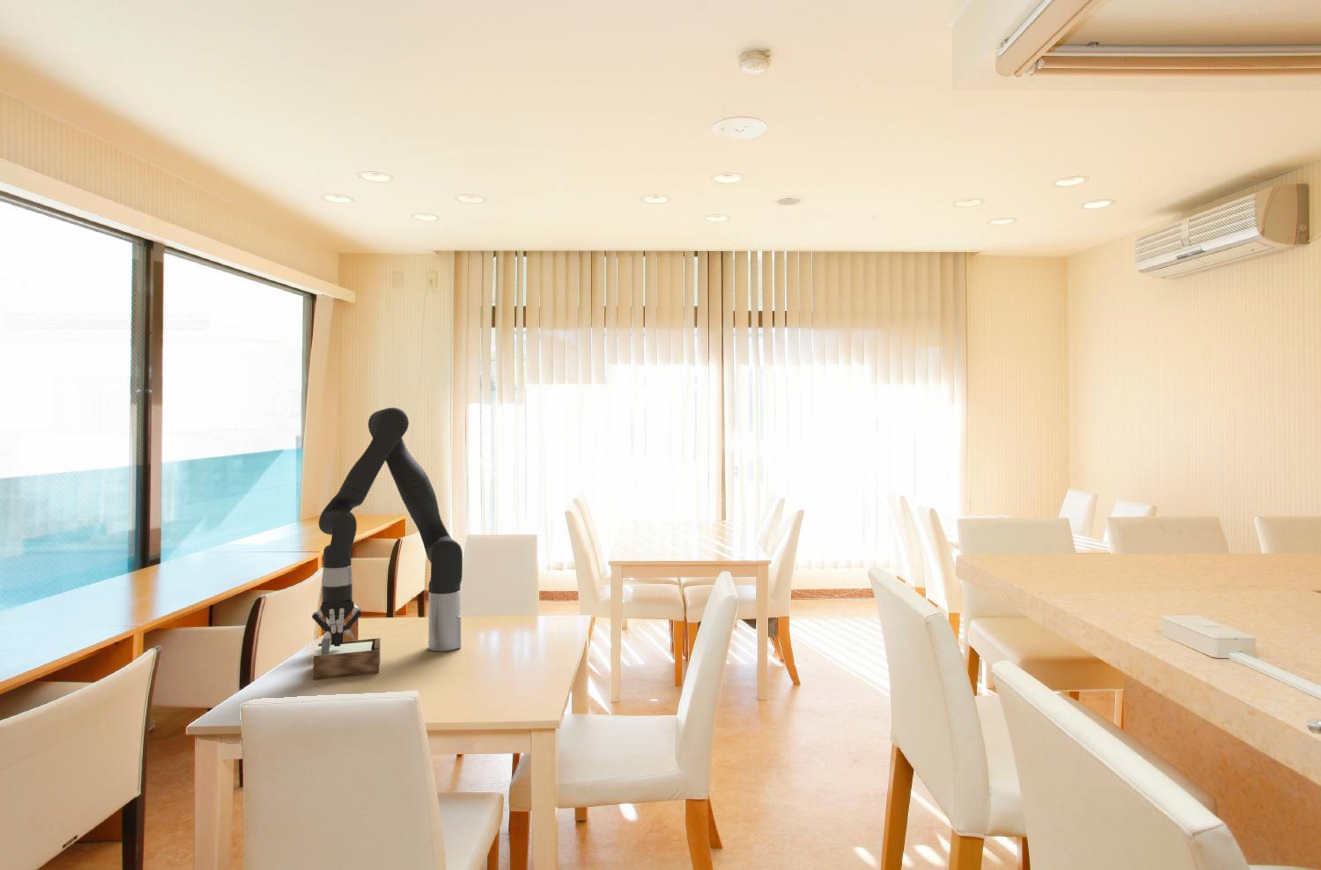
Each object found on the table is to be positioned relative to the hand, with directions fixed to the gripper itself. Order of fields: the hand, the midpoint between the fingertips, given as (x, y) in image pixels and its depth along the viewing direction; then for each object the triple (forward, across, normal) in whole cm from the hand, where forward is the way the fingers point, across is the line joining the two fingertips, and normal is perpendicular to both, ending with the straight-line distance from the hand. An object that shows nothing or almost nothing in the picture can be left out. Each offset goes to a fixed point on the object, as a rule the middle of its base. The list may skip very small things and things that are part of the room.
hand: (337, 645), depth 196 cm
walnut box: (+7, -3, 0) cm, 7 cm away
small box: (+7, 0, -19) cm, 20 cm away
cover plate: (+2, -1, 0) cm, 2 cm away
